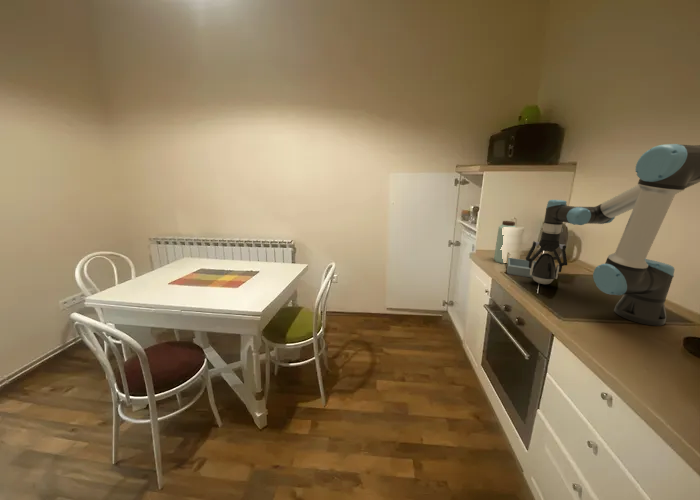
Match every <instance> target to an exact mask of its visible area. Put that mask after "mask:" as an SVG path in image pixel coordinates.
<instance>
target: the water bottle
mask: <svg viewBox="0 0 700 500" xmlns="http://www.w3.org/2000/svg"><path fill="white" fill-rule="evenodd" d="M503 227H516V222H515V221H511V220H502V224H501V225H500V226H498V229H497V236H496V242H495V243H496V244H495V249H494V255H493V260H494V261H495V262H496V263H499V264H504V263H503V259H502V250H500V249H501V247H502V245H503V236H504V235H502V228H503Z"/></svg>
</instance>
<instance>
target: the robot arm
mask: <svg viewBox="0 0 700 500" xmlns="http://www.w3.org/2000/svg"><path fill="white" fill-rule="evenodd" d="M635 172H636V176H637V178H639V180H638V182H637V185H635V186H633V187H631V188H629V189H626V191H623V192H621V193H619V194H618V195H615V196H613V197H611V198H610V199H608V200H606V201H604V202H602V203H600V204H598V205H596V206H572V205H567V201H566V200H564V199H549V200H548V201H547V204H546V208H545V214H544V220H543V225H542V226H543V227H542V232H541V237H540V241H535V240H533V242H532V246H531V247H530V250H529V251H528V253H527V255H526V257H525V260H527V261H529V268H531V269H530V275H532V271H533V266H534V262H533V261H536V260H537V258H538V257H539V256H540V255H541V253H543V252H550V253H553V255H554V257H560V256H559V254H558V252H557V249H559V248H560V250H561V254H562V255H561V257H562V261H563V262H562V261H561V258H559V259H556V261H557V263H558V264H556V276H555V278H554V280H555V279H556V280H557V279H558V275H559V273H561V272H562V269H563V266H568V261H567V260H568V259H567V254H566V248H567V245H566V244H565V243H564V244H560V239H561V233H562V227H563V223H566V224H570V225H576V226H584V225H586V224H592V225H593V224H595V225H603V224H609V223H611V222H613V220H614V219H615V218H616V217H617V216H620V215H622V214H624V213H626V212H628V211H631V210H632V211H631V214H630V216H629V219H628V221H627V224H626V225H625V227H624V230H623V233H622V234H621V235H622V236H621V238H620V240H619V242H618V245H617V247H616V250H615V252H614V253H611V254H608V255H607V258H606V260H605V262H604V263H601V264H599V265H597V266H596V267H595V268H594V269H593V273H592V278H593V282H594V283H595V285H596V288H597V289H598V290H599V291H601V292H602V293H604V294H607V295H611V296H612V295H614V296H622V297H621V298H620V299H619V300H618V301H617V302H616V304H615V305H614V309H613V312H614V313H615V314H617V316H619V317H622V318H623V319H625V320H629V321H631V322H634V323H638V324H642V325H647V326H653V327H654V326H655V327H656V326H664V325H665V323H666V321H667V312H666V306H665V302H666V299H667V296H668V293H669V290H670V287H671V283H672V281H673V278H674V275H675V274H674V273H675V267H674V266H673V265H671V264H668V263H665V262H662V261H661V262H660V261H658V260H653V259H648V258H647V256H648V255H649V252H650V251H651V248H652V246H653V243H654V241H655V239H656V238H657V235H658V233H659V231H660V229H661V227H662V224H663V222H664V220H665V218H666V215H667V213H668V210H669V209H670V207H671V204H672V202H673V200H674V198H675V196H676V195H677V194H679V193H681V192H683V191H685V189H687V188H689V187H692V186H694V185H696V184H699V183H700V144H699V145H698V144H697V145H694V144H679V143H666V144H664V143H663V144H659V145H655V146H653V147H651V148H650V149H648V150H647V151H645V152H644V153H642V155H641V156H640V157H639V159H638V160H637V162H636V164H635ZM538 246H539V249H538V250H537V251H536V252H535V253H534V251H535V249H536V248H537V247H538ZM533 253H534V254H533ZM532 254H533V255H532ZM530 257H531V258H530Z"/></svg>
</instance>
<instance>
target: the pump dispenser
mask: <svg viewBox="0 0 700 500" xmlns="http://www.w3.org/2000/svg"><path fill="white" fill-rule="evenodd" d="M559 258H560V256H559V257H555V256H553V255H552V254H551V253H548V252H544V253H543V252H542V254H539V256H538V257H537V258H536V260H535V261H536V262H535V264H534V267H533V271H532V278H531V279H533V281H534V282H536V283H537V284H540V285H541V284H542V285H549V284H551V283H552V282H553V281H554V280H555V276H556V267H557V265H556V262H555V260H557V259H559ZM560 259H561V258H560Z"/></svg>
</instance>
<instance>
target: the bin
mask: <svg viewBox="0 0 700 500" xmlns="http://www.w3.org/2000/svg"><path fill="white" fill-rule="evenodd" d="M536 261H537V260H534V261H533V262H534V264H535V262H536ZM533 267H534V266H533ZM530 269H531V268H529V261H527V260H526V259H523V258H522V259H521V258H513V257H512V258H508V263H507V264H506V270H507V271H506V274H508V275H512V276H519V277H524V278H525V277H526V278H531V279H533V278H532V275H530Z"/></svg>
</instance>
